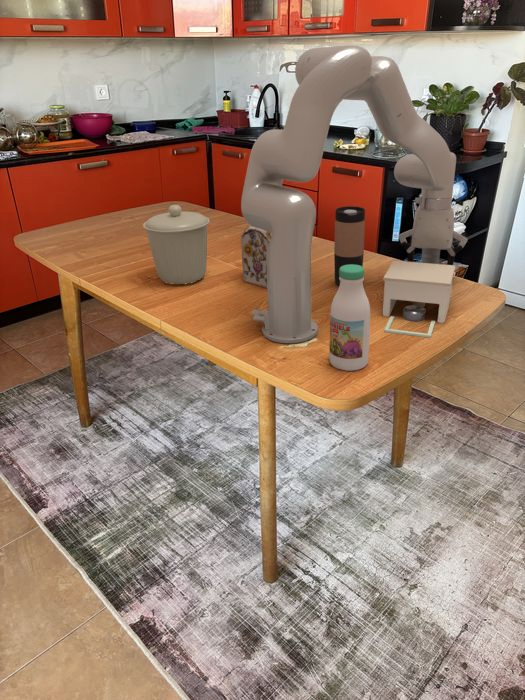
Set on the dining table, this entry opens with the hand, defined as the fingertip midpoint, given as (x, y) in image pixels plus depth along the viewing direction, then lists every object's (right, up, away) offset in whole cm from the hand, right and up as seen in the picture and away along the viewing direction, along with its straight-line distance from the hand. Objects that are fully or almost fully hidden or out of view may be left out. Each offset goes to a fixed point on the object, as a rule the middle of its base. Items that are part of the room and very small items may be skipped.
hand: (429, 267), depth 150 cm
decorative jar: (-42, -3, +7) cm, 43 cm away
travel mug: (-22, -4, +2) cm, 22 cm away
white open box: (-8, -12, -16) cm, 21 cm away
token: (-9, -14, -19) cm, 26 cm away
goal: (-12, -17, -24) cm, 32 cm away
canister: (-68, -2, +10) cm, 68 cm away
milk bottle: (-27, -25, -37) cm, 53 cm away
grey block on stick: (-3, -7, -5) cm, 9 cm away
